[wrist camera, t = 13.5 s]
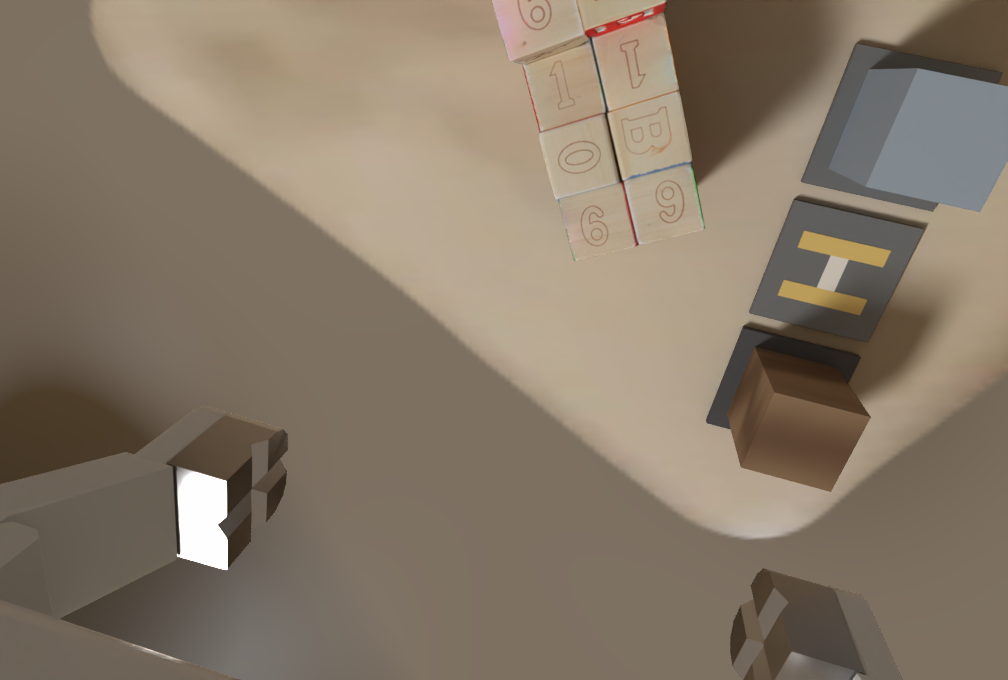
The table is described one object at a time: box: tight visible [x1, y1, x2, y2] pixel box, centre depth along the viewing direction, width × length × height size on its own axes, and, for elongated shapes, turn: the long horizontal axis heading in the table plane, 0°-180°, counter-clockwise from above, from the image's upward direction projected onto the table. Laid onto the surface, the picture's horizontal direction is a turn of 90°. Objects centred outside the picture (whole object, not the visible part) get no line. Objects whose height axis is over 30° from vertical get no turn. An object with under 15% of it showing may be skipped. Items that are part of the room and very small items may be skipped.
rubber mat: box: [706, 326, 861, 429], centre depth 39 cm, size 7×7×1 cm
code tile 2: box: [801, 44, 1002, 212], centre depth 32 cm, size 7×7×1 cm
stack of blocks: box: [491, 0, 705, 261], centre depth 27 cm, size 21×6×12 cm, turn 17°
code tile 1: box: [749, 199, 924, 342], centre depth 35 cm, size 7×7×1 cm
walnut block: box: [727, 347, 871, 492], centre depth 36 cm, size 5×5×6 cm
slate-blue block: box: [828, 68, 1008, 212], centre depth 29 cm, size 5×5×6 cm
